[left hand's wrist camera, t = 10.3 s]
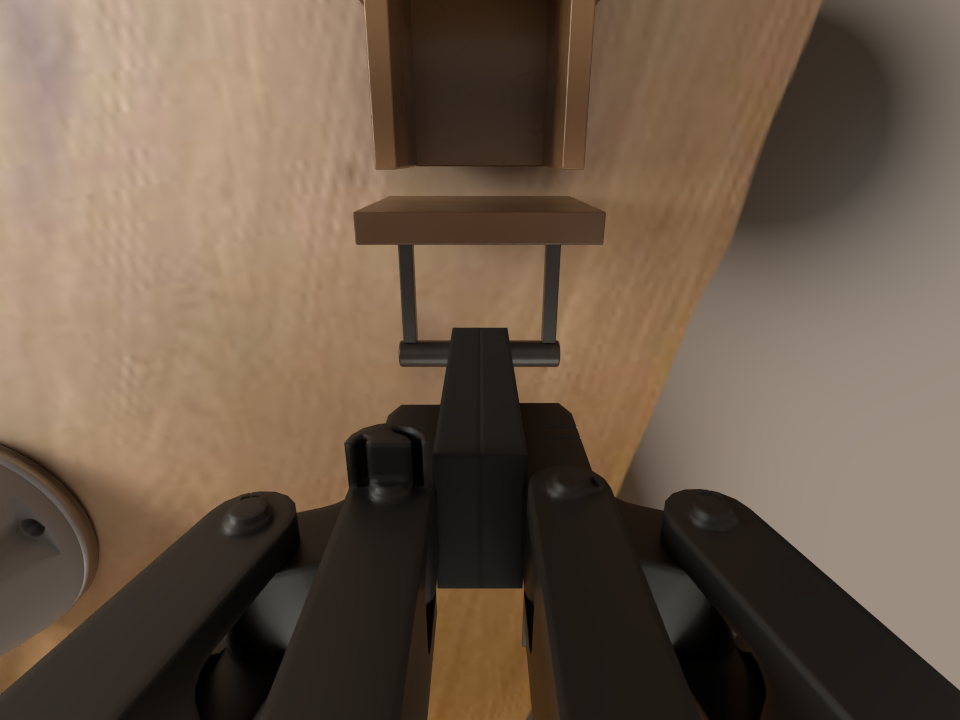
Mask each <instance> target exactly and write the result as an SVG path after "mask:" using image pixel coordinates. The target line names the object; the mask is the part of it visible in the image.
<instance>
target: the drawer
mask: <svg viewBox="0 0 960 720" xmlns="http://www.w3.org/2000/svg"><path fill="white" fill-rule="evenodd" d="M363 1H364V16H365V30H366V45H367V60H368V74H369V89H370V104H371V118H372V133H373V148H374V162H375V169H401V168H408V167H414V166H544V167H551V168H557V169H563V170H583V169H584V163H585V148H586V133H587V118H588V104H589V89H590V74H591V59H592V45H593V30H594V15H595V0H363ZM605 216H606V213H605V212H604V211H601V210H599V209H597V208H595V207H592V206H590V205H588V204H586V203H583V202H581V201H579V200H577V199H574V198H572V197H570V196H389V197H387V198H385V199H382V200H380V201H378V202H376V203H373V204H371V205H369V206H367V207H364V208H362V209H360V210H358V211H355V212H354V213H353V217H354V229H355V240H356V244H357V245H398V252H399V270H400V288H401V306H402V324H403V340H402V341H400V344H399V363H400V366H401V367H447V361H448V354H449V348H450V342H451V340H417V339H418V332H417V310H416V287H415V265H414V245H545V265H544V287H543V310H542V332H541V339H542V340H509V342H510V348H511V354H512V361H513V367H558V366H559V363H560V344H559V341H557V340H556V325H557V307H558V289H559V271H560V253H561V245H602V244H603V240H604V228H605Z"/></svg>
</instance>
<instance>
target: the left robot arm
mask: <svg viewBox="0 0 960 720" xmlns="http://www.w3.org/2000/svg"><path fill="white" fill-rule="evenodd" d="M344 444H345V453H346V462H347V472H348V481H349V490H348V493H347V495H346V498H345V500H343V501H341V502H338V503H336V504H333V505H330V506H326V507H323V508H318V509H313V510H308V511H304V512H299V513H296V506H295V503H294V502H293V501H292V500H291V499H290V498H289V497H288V496H286V495H283V494H280V493H277V492H260V491H259V492H252V493H247V494H243V495H240V496H238V497H235V498H233V499H230V500H228V501H225V502H224V503H222V504H221V505H219V506H218V507H216V508H215V509H213V510H212V511H210V512H209V513H208V514H207V515H206V516H204V517H203V518H202V519H201V520H200V521H199V522H198V523H196V524H195V525H194V526H193V527H192V528H191V529H190V530H188V531H187V532H186V533H185V534H184V535H183V536H182V537H180V538H179V539H178V540H177V541H176V542H175V543H174V544H172V545H171V546H170V547H169V548H168V549H167V550H166V551H164V552H163V553H162V554H161V555H160V556H159V557H158V558H156V559H155V560H154V561H153V562H152V563H151V564H150V565H148V566H147V567H146V568H145V569H144V570H143V571H142V572H140V573H139V574H138V575H137V576H136V577H135V578H134V579H132V580H131V581H130V582H129V583H128V584H127V585H126V586H124V587H123V588H122V589H121V590H120V591H119V592H118V593H116V594H115V595H114V596H113V597H112V598H111V599H110V600H108V601H107V602H106V603H105V604H104V605H103V606H102V607H100V608H99V609H98V610H97V611H96V612H95V613H94V614H92V615H91V616H90V617H89V618H88V619H87V620H85V621H84V622H83V623H82V624H81V625H80V626H79V627H77V628H76V629H75V630H74V631H73V632H72V633H71V634H69V635H68V636H67V637H66V638H65V639H64V640H63V641H61V642H60V643H59V644H58V645H57V646H56V647H55V648H53V649H52V650H51V651H50V652H49V653H48V654H47V655H45V656H44V657H43V658H42V659H41V660H40V661H39V662H37V663H36V664H35V665H34V666H33V667H32V668H31V669H29V670H28V671H27V672H26V673H25V674H24V675H23V676H21V677H20V678H19V679H18V680H17V681H16V682H15V683H13V684H12V685H11V686H10V687H9V688H8V689H7V690H5V691H4V692H3V693H2V694H1V695H0V720H427V716H428V705H429V694H430V683H431V672H432V661H433V650H434V639H435V628H436V617H437V604H436V585H437V586H438V588H522V586H523V582H524V604H523V630H522V647H526V649H527V660H528V671H529V682H530V693H531V704H532V715H533V720H960V690H958V689H957V688H956V687H955V686H954V685H953V684H952V683H950V682H949V681H948V680H947V679H946V678H945V677H943V676H942V675H941V674H940V673H939V672H938V671H937V670H935V669H934V668H933V667H932V666H931V665H930V664H928V663H927V662H926V661H925V660H924V659H923V658H922V657H920V656H919V655H918V654H917V653H916V652H915V651H914V650H912V649H911V648H910V647H909V646H908V645H907V644H905V643H904V642H903V641H902V640H901V639H900V638H898V637H897V636H896V635H895V634H894V633H893V632H892V631H890V630H889V629H888V628H887V627H886V626H885V625H884V624H882V623H881V622H880V621H879V620H878V619H877V618H875V617H874V616H873V615H872V614H871V613H870V612H868V611H867V610H866V609H865V608H864V607H863V606H862V605H860V604H859V603H858V602H857V601H856V600H855V599H853V598H852V597H851V596H850V595H849V594H848V593H847V592H845V591H844V590H843V589H842V588H841V587H840V586H839V585H837V584H836V583H835V582H834V581H833V580H832V579H830V578H829V577H828V576H827V575H826V574H825V573H824V572H822V571H821V570H820V569H819V568H818V567H817V566H815V565H814V564H813V563H812V562H811V561H810V560H808V559H807V558H806V557H805V556H804V555H803V554H802V553H800V552H799V551H798V550H797V549H796V548H795V547H794V546H792V545H791V544H790V543H789V542H788V541H787V540H785V539H784V538H783V537H782V536H781V535H780V534H778V533H777V532H776V531H775V530H774V529H773V528H772V527H770V526H769V525H768V524H767V523H766V522H765V521H763V520H762V519H761V518H760V517H759V516H758V515H757V514H755V513H754V512H753V511H752V510H751V509H750V508H748V507H747V506H745V505H744V504H742V503H741V502H739V501H738V500H736V499H734V498H731V497H729V496H726V495H724V494H721V493H719V492H715V491H708V490H703V489H687V490H682V491H679V492H676V493H673V494H672V495H671V496H670V497H669V498H668V499H667V500H666V501H665V506H664V511H662V510H658V509H653V508H648V507H643V506H638V505H635V504H631V503H627V502H625V501H622V500H620V499H618V498H615V497H614V495H613V492H612V490H611V487H610V486H609V485H608V483H607V482H606V480H605V479H604V478H602V477H601V476H599V475H598V474H596V473H595V472H593V471H592V469H591V467H590V464H589V461H588V458H587V455H586V453H585V450H584V447H583V444H582V441H581V439H580V436H579V433H578V430H577V428H576V425H575V422H574V419H573V416H572V414H571V413H570V412H569V411H568V410H566V409H565V408H564V407H563V406H561V405H560V404H559V403H519V398H518V392H517V386H516V379H515V373H514V367H513V361H512V354H511V348H510V342H509V336H508V329H507V328H453V329H452V336H451V342H450V348H449V354H448V361H447V367H446V373H445V379H444V386H443V392H442V398H441V404H440V405H401V406H399V407H398V408H397V409H396V410H395V411H393V412H392V413H391V414H390V415H388V418H387V421H386V424H377V425H373V426H370V427H366V428H363V429H361V430H359V431H358V432H356V433H354V434H352V435H351V436H350V437H349V438H348V440H347V441H346V442H345V443H344ZM97 565H98V545H97V540H96V536H95V533H94V530H93V527H92V525H91V523H90V521H89V518H88V516H87V515H86V513H85V511H84V510H83V508H82V507H81V505H80V504H79V502H78V501H77V500H76V498H75V497H74V496H73V495H72V494H71V493H70V491H69V490H68V489H67V488H66V487H65V486H64V485H63V484H62V483H61V482H60V481H59V480H57V479H56V478H55V477H54V476H53V475H52V474H50V473H49V472H48V471H46V470H45V469H44V468H42V467H41V466H40V465H38V464H36V463H35V462H33V461H32V460H30V459H28V458H27V457H25V456H23V455H21V454H19V453H17V452H15V451H13V450H11V449H9V448H6V447H4V446H1V445H0V657H1V656H2V655H4V654H6V653H7V652H9V651H10V650H12V649H14V648H15V647H17V646H18V645H20V644H21V643H23V642H25V641H26V640H28V639H29V638H31V637H32V636H34V635H36V634H37V633H39V632H41V631H42V630H44V629H45V628H47V627H49V626H50V625H51V624H53V623H54V622H55V621H56V620H58V619H59V618H60V617H61V616H62V615H64V614H65V613H66V612H67V611H68V610H69V609H70V608H71V607H72V606H73V605H74V604H75V603H76V601H77V600H78V599H79V598H80V597H81V596H82V595H83V594H84V593H85V591H86V590H87V589H88V588H89V586H90V584H91V583H92V581H93V579H94V576H95V573H96V570H97Z"/></svg>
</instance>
